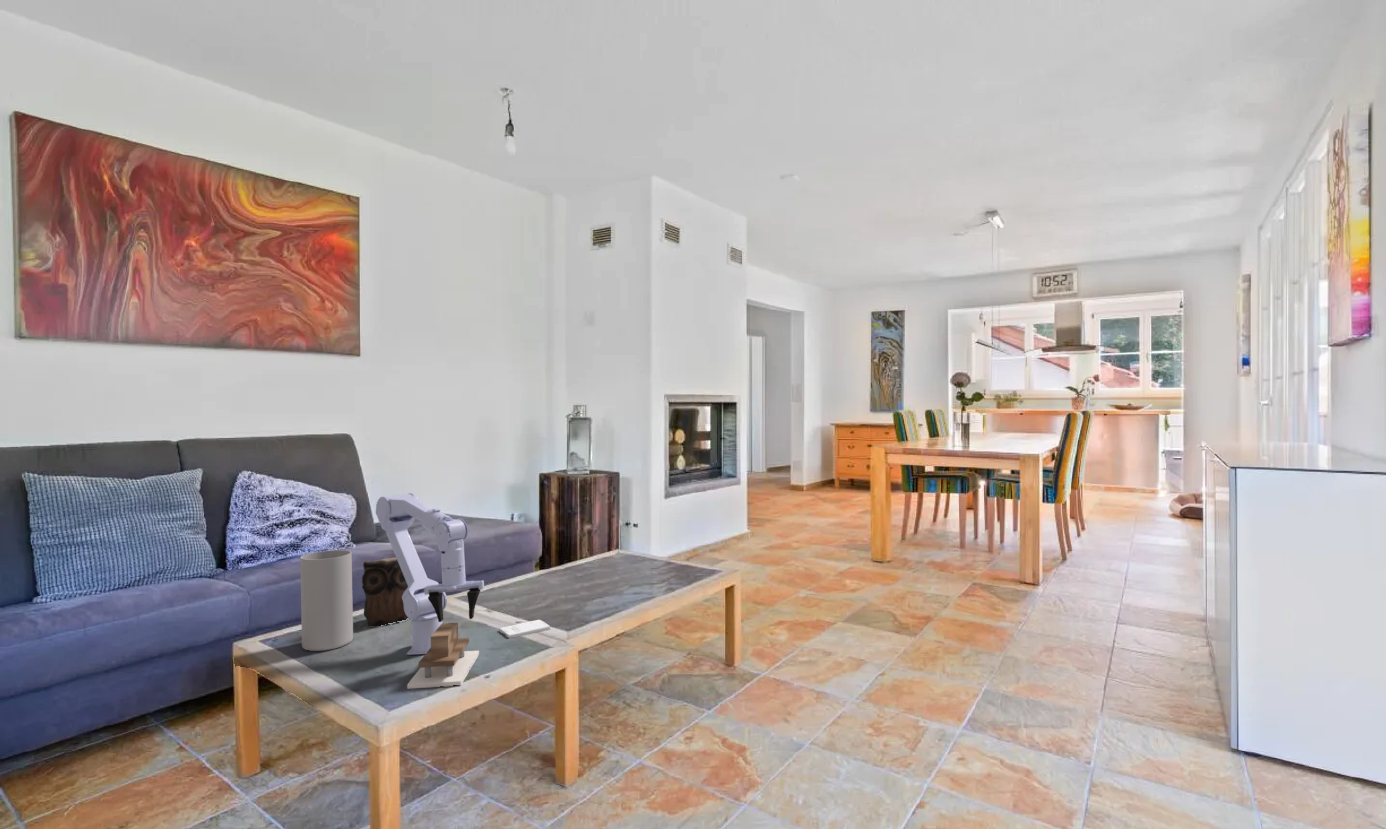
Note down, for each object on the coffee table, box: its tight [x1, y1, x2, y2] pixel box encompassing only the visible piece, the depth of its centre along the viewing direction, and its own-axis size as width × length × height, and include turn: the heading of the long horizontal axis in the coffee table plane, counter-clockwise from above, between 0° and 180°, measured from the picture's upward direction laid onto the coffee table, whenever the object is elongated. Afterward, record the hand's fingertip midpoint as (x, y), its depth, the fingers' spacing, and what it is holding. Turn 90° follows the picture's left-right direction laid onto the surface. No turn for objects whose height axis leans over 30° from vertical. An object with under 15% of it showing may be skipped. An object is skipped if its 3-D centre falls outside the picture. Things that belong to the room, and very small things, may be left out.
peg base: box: [407, 650, 480, 690], centre depth 163 cm, size 20×12×4 cm, turn 7°
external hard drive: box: [498, 619, 551, 639], centre depth 192 cm, size 2×8×12 cm
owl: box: [361, 556, 408, 627], centre depth 202 cm, size 13×13×20 cm
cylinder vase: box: [300, 549, 354, 652], centre depth 183 cm, size 12×12×25 cm
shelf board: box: [418, 622, 470, 669], centre depth 162 cm, size 16×8×6 cm, turn 7°
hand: (456, 619), depth 170 cm, fingers open, 7 cm apart
